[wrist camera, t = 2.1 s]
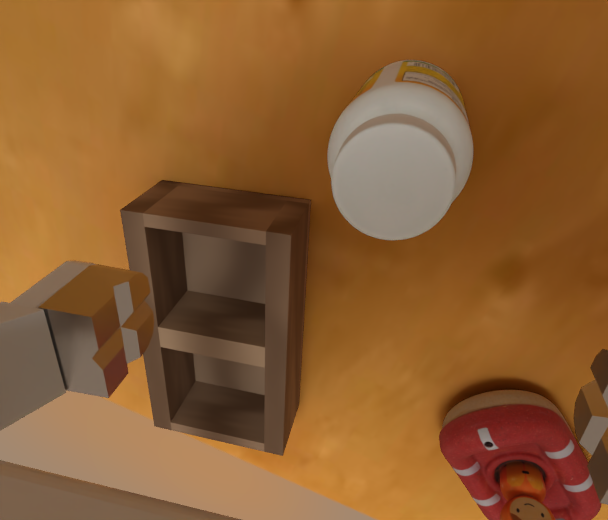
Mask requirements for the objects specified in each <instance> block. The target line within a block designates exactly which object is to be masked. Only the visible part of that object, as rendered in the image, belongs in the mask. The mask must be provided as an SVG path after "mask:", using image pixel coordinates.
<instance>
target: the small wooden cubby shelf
mask: <svg viewBox="0 0 608 520" xmlns="http://www.w3.org/2000/svg"><path fill="white" fill-rule="evenodd" d="M310 207H311V200H306V199H299V198H291V197H284V196H277V195H269V194H262V193H254V192H247V191H239V190H232V189H224V188H217V187H209V186H202V185H194V184H187V183H180V182H172V181H165V180H162V181H160V182H159V183H158V184H156V185H155V186H153V187H152V188H150V189H149V190H148V191H146V192H145V193H143V194H142V195H141V196H139V197H138V198H136V199H135V200H134V201H132V202H131V203H129V204H128V205H127V206H125V207H124V208H122V209H121V210H120V211H121V218H122V224H123V230H124V237H125V243H126V249H127V255H128V262H129V268H130V270H131V271H136V272H141V273H143V274H144V275H146V276H147V277H148V281H149V286H150V294H149V295H148V296H147V298H146V299H145V302H146V303H147V304H148V306H149V307H150V308H151V309H152V311H153V315H154V330H153V335H152V338H151V341H150V343H149V346H148V348H147V349H146V351H145V352H144V353H143V356H144V363H145V369H146V375H147V382H148V388H149V394H150V400H151V407H152V413H153V419H154V426H156V427H160V428H165V429H169V430H173V431H178V432H182V433H186V434H191V435H195V436H199V437H204V438H208V439H212V440H217V441H221V442H225V443H230V444H234V445H238V446H243V447H247V448H251V449H256V450H260V451H264V452H269V453H273V454H277V455H282V456H283V453H284V450H285V447H286V444H287V441H288V438H289V434H290V431H291V428H292V425H293V422H294V419H295V416H296V412H297V409H298V406H299V396H300V379H301V362H302V345H303V327H304V310H305V293H306V276H307V259H308V242H309V225H310Z"/></svg>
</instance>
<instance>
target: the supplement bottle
mask: <svg viewBox="0 0 608 520" xmlns="http://www.w3.org/2000/svg"><path fill="white" fill-rule="evenodd" d="M327 158H328V168H329V173H330V176H331V185H332V192H333V197H334V200H335V203H336V205H337V207H338V209H339V211H340V212H341V214H342V215H343V216H344V218H345V219H346V220H347V221H348V222H349V223H350V224H351V225H352V226H353V227H354V228H356V229H357V230H359V231H360V232H362V233H364V234H366V235H369V236H371V237H374V238H378V239H383V240H403V239H409V238H412V237H415V236H418V235H420V234H422V233H424V232H426V231H428V230H429V229H431V228H432V227H433V226H434V225H436V224H437V223H438V222H439V221H440V220H441V219H442V217H443V216H444V215H445V214H446V212H447V210H448V209H449V207H450V205H451V203H452V202H453V201H454V200H455V199H456V197H457V196H458V195H459V194H460V192H461V191H462V189H463V188H464V186H465V184H466V182H467V179H468V177H469V174H470V171H471V168H472V162H473V139H472V134H471V130H470V126H469V122H468V118H467V113H466V109H465V105H464V101H463V98H462V95H461V92H460V90H459V88H458V86H457V85H456V83H455V82H454V80H453V79H452V78H451V77H450V76H449V75H448V74H447V73H446V72H445V71H444V70H442V69H441V68H439V67H437V66H435V65H433V64H431V63H428V62H424V61H419V60H403V61H398V62H394V63H391V64H389V65H387V66H385V67H383V68H381V69H380V70H378V71H377V72H375V73H374V74H373V75H372V76H371V77H370V78H369V79H368V80H367V81H366V82H365V83H364V85H363V86H362V87H361V89H360V90H359V91H358V93H357V94H356V95H355V97H354V98H353V99H352V100H351V102H350V103H349V104H348V105H347V106H346V108H345V109H344V111H343V112H342V114H341V115H340V117H339V118H338V120H337V122H336V124H335V126H334V128H333V130H332V133H331V136H330V140H329V145H328V155H327Z"/></svg>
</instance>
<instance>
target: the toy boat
mask: <svg viewBox="0 0 608 520" xmlns="http://www.w3.org/2000/svg"><path fill="white" fill-rule="evenodd" d="M439 440H440V447H441V451H442V453H443V455H444V457H445V458H446V459H447V461H448V462H449V463H450V465H451V466H452V468H453V469H454V470H455V472H456V473H457V475H458V476H459V478H460V479H461V481H462V482H463V484H464V485H465V487H466V488H467V490H468V491H469V493H470V494H471V496H472V498H473V499H474V500H475V502H476V503H477V505H478V506H479V508H480V509H481V511H482V512H483V514H484V515H485V516H486V517H487V518H488V519H489V520H591V519H593V518H594V517H595V516H596V515H597V513H598V512H599V510H600V508H601V503H600V501H599V498H598V495H597V492H596V490H595V487H594V484H593V481H592V478H591V475H590V473H589V470H588V467H587V465H588V462H587V460H586V458H585V456H584V454H583V452H582V450H581V448H580V447H579V445H578V443H577V441H576V439H575V437H574V435H573V433H572V431H571V429H570V427H569V426H568V424H567V422H566V420H565V418H564V417H563V415H562V414H561V412H560V411H559V410H558V408H557V407H556V406H555V405H554V404H553V403H552V402H551V401H549V400H548V399H546V398H545V397H543V396H541V395H539V394H536V393H533V392H528V391H523V390H498V391H491V392H486V393H482V394H478V395H475V396H472V397H469V398H467V399H465V400H463V401H461V402H460V403H458V404H457V405H455V406H454V407H453V408H452V409H451V410H450V411H449V412H448V414H447V415H446V417H445V419H444V422H443V427H442V430H441V432H440V435H439Z"/></svg>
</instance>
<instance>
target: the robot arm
mask: <svg viewBox="0 0 608 520" xmlns="http://www.w3.org/2000/svg"><path fill="white" fill-rule="evenodd" d="M149 294H150V286H149V281H148V277H147V276H146V275H144V274H143V273H141V272H136V271H131V270H125V269H120V268H115V267H109V266H104V265H99V264H93V263H87V262H81V261H66V262H65V263H63V264H62V265H61V266H59V267H58V268H57V269H55V270H54V271H53V272H51V273H50V274H48V275H47V276H46V277H44V278H43V279H42V280H40V281H39V282H38V283H36V284H35V285H34V286H32V287H31V288H30V289H28V290H27V291H26V292H24V293H23V294H21V295H20V296H19V297H17V298H16V299H15V300H13V301H12V302H11V303H7V302H0V430H2V429H4V428H6V427H7V426H9V425H11V424H13V423H14V422H16V421H18V420H19V419H21V418H23V417H25V416H26V415H28V414H30V413H32V412H33V411H35V410H37V409H38V408H40V407H42V406H44V405H45V404H47V403H49V402H50V401H52V400H54V399H56V398H57V397H59V396H61V395H63V394H64V393H66V390H68V391H73V392H78V393H84V394H90V395H95V396H100V397H106V398H109V397H110V396H111V394H112V393H113V392H114V391H115V389H116V388H117V387H118V386H119V384H120V383H121V382H122V380H123V379H124V378H125V377H126V375H127V374H128V367H127V363H129V362H132V361H134V360H136V359H138V358H140V357H141V356H142V355H143V353H144V352H145V351H146V349H147V348H148V346H149V343H150V341H151V338H152V335H153V330H154V315H153V311H152V309H151V308H150V307H149V306H148V304H147V303H146V302H145V299H146V298H147V296H148V295H149ZM590 368H591V370H592V372H593V375H594V377H595V380H593V381H592V382H590V383H588V384H587V385H585V386H583V387H581V390H580V392H579V395H578V397H577V399H576V402H575V410H574V425H575V431H576V435H577V438H578V441H579V443H580V444H581V445H582V446H583V447H584V448H585V449H586V450H587V451H588V452H589V453H590V454H591V455H592V457H591V459H590V461H589V463H588V465H587V467H588V470H589V473H590V475H591V478H592V481H593V484H594V487H595V490H596V492H597V495H598V498H599V501H600V503H603V504H607V505H608V350H605V349H602V350H601V351H600V352H599V353H598V354H597V355H596V357H595V359H594V361H593V363H592V365H591V367H590ZM0 520H241V519H236V518H233V517H228V516H224V515H220V514H216V513H212V512H208V511H204V510H200V509H196V508H192V507H188V506H184V505H180V504H176V503H172V502H168V501H164V500H159V499H155V498H151V497H147V496H143V495H139V494H135V493H131V492H127V491H123V490H119V489H115V488H110V487H107V486H103V485H99V484H95V483H90V482H86V481H82V480H78V479H74V478H70V477H66V476H62V475H58V474H54V473H50V472H45V471H42V470H38V469H33V468H29V467H25V466H21V465H17V464H13V463H9V462H5V461H1V460H0Z"/></svg>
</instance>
